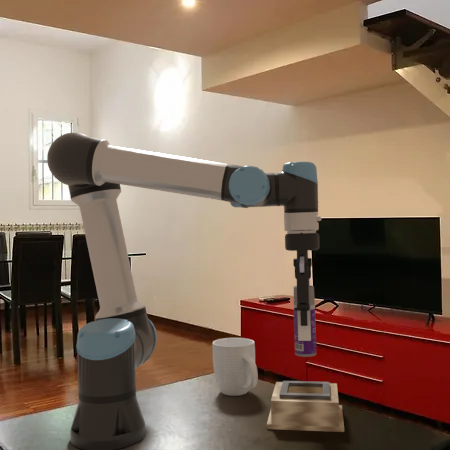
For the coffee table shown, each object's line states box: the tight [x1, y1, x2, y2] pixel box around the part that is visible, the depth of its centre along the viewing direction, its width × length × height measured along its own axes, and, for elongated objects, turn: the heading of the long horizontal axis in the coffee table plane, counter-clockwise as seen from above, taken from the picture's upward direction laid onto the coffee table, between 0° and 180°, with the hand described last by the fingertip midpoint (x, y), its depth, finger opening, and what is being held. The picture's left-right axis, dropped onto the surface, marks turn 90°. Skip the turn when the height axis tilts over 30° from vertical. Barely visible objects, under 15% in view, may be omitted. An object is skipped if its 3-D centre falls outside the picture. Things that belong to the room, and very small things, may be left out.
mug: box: [212, 337, 259, 397], centre depth 142 cm, size 15×11×13 cm
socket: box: [266, 380, 345, 433], centre depth 123 cm, size 16×14×7 cm
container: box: [293, 284, 317, 358], centre depth 123 cm, size 5×5×15 cm
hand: (305, 337), depth 123 cm, fingers closed on container, 5 cm apart
